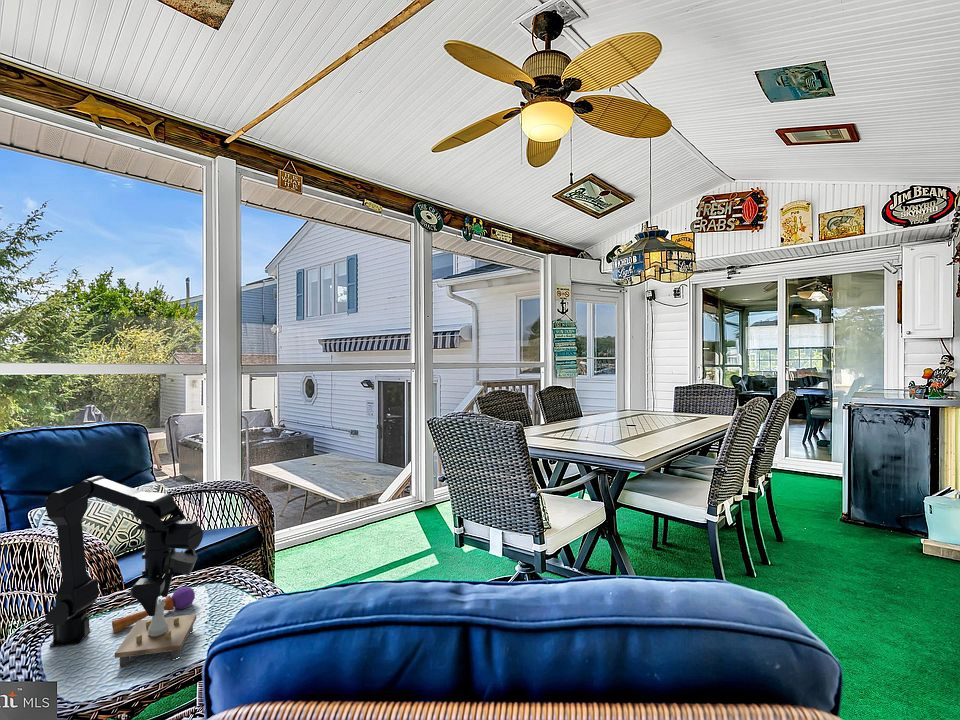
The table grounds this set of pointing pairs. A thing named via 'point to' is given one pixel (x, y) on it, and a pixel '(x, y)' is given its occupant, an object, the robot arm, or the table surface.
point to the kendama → (178, 600)
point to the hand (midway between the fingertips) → (158, 606)
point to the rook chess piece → (158, 621)
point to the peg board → (155, 639)
